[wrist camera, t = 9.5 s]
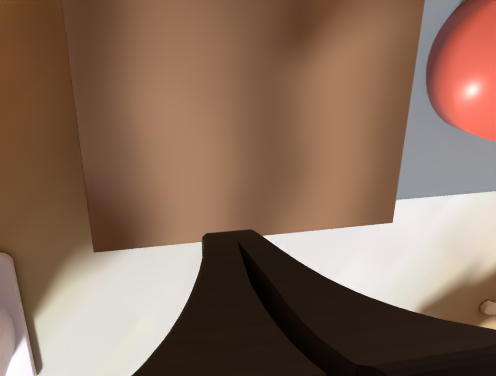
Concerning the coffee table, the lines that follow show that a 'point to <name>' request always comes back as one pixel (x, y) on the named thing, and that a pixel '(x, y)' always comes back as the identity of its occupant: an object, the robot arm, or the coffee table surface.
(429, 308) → the coffee table surface
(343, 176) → the board
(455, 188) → the mat
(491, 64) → the red ball
